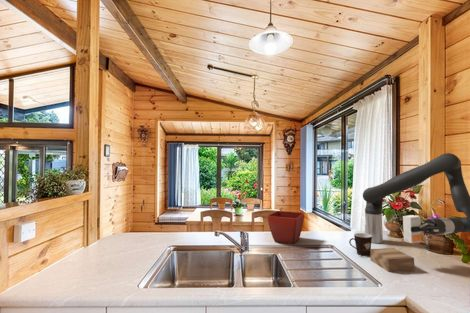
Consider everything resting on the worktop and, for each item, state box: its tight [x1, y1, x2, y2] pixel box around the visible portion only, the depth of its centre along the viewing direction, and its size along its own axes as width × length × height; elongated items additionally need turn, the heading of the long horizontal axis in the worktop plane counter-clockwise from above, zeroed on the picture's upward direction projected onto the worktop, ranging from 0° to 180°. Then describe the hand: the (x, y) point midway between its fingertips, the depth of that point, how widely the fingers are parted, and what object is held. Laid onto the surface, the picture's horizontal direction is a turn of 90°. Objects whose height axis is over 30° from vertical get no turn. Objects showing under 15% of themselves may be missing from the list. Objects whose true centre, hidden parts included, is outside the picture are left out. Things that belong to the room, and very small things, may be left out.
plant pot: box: [266, 210, 305, 245], centre depth 167 cm, size 19×19×17 cm
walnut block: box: [370, 247, 416, 273], centre depth 123 cm, size 14×12×6 cm
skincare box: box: [402, 214, 422, 244], centre depth 123 cm, size 6×4×12 cm
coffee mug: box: [348, 232, 372, 257], centre depth 140 cm, size 12×9×10 cm
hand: (407, 228), depth 123 cm, fingers closed on skincare box, 4 cm apart
